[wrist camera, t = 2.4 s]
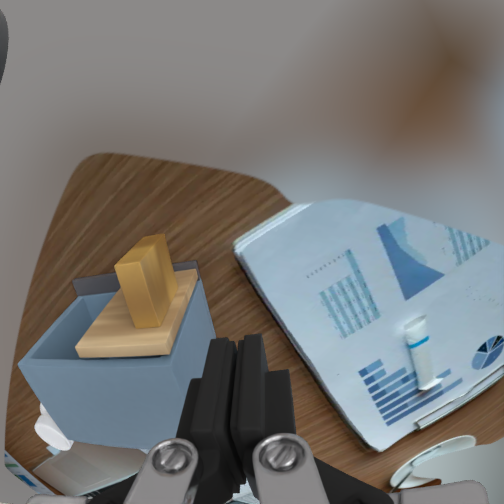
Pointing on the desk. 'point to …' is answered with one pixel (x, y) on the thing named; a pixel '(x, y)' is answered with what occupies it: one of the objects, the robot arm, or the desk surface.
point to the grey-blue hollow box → (117, 372)
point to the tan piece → (141, 305)
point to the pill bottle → (51, 431)
